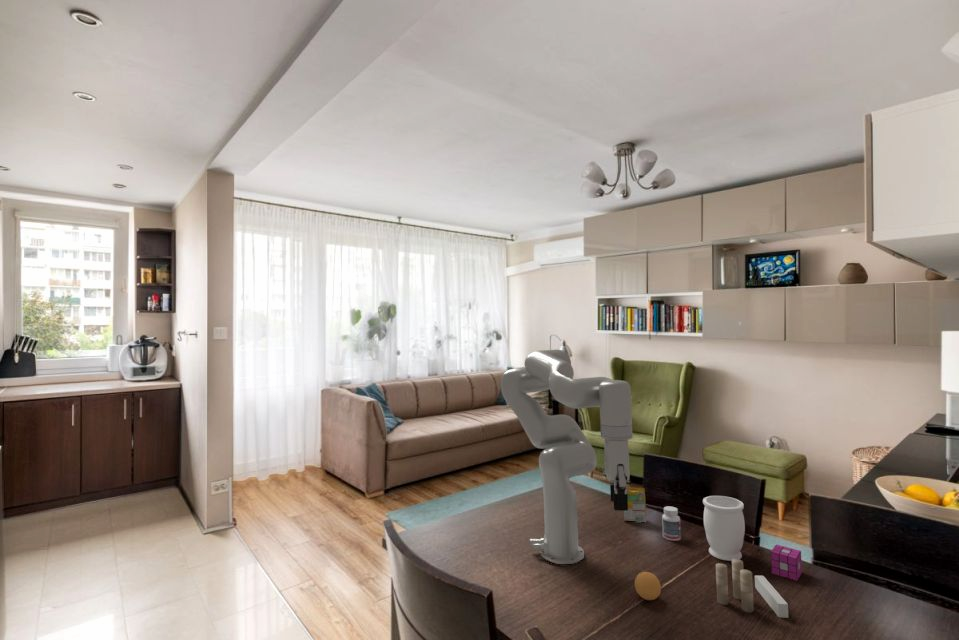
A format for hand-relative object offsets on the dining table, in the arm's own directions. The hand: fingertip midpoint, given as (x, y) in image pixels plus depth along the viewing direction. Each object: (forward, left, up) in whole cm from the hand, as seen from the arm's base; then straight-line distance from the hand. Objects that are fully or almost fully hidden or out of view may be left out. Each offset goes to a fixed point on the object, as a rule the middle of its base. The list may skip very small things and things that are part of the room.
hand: (619, 504), depth 114 cm
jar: (+32, +24, -23) cm, 46 cm away
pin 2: (+27, -2, -22) cm, 36 cm away
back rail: (+34, +1, -22) cm, 41 cm away
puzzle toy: (+44, +15, -23) cm, 52 cm away
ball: (+6, 0, -19) cm, 20 cm away
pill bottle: (+20, +34, -23) cm, 45 cm away
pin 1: (+27, +3, -22) cm, 36 cm away
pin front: (+23, 0, -22) cm, 32 cm away
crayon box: (+11, +46, -23) cm, 52 cm away
